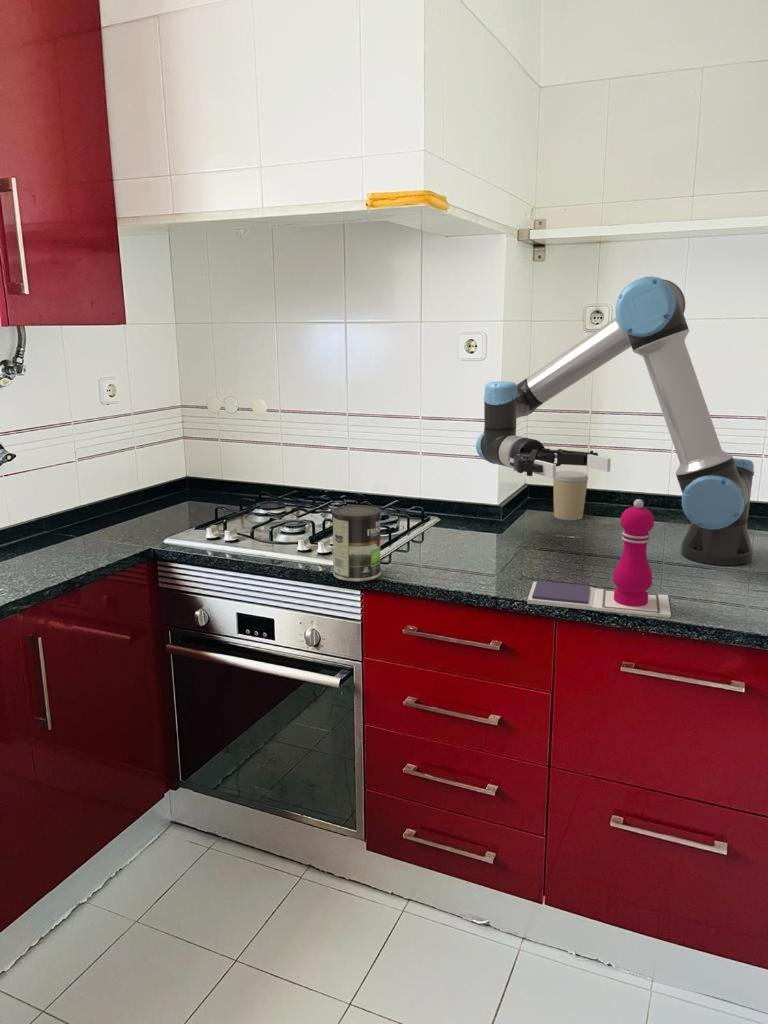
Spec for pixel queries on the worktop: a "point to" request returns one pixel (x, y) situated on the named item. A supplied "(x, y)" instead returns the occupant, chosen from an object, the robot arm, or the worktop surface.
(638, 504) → the pepper mill
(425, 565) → the worktop surface
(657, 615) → the board
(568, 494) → the coffee cup
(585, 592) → the ink pad
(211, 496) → the worktop surface
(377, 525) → the coffee can
